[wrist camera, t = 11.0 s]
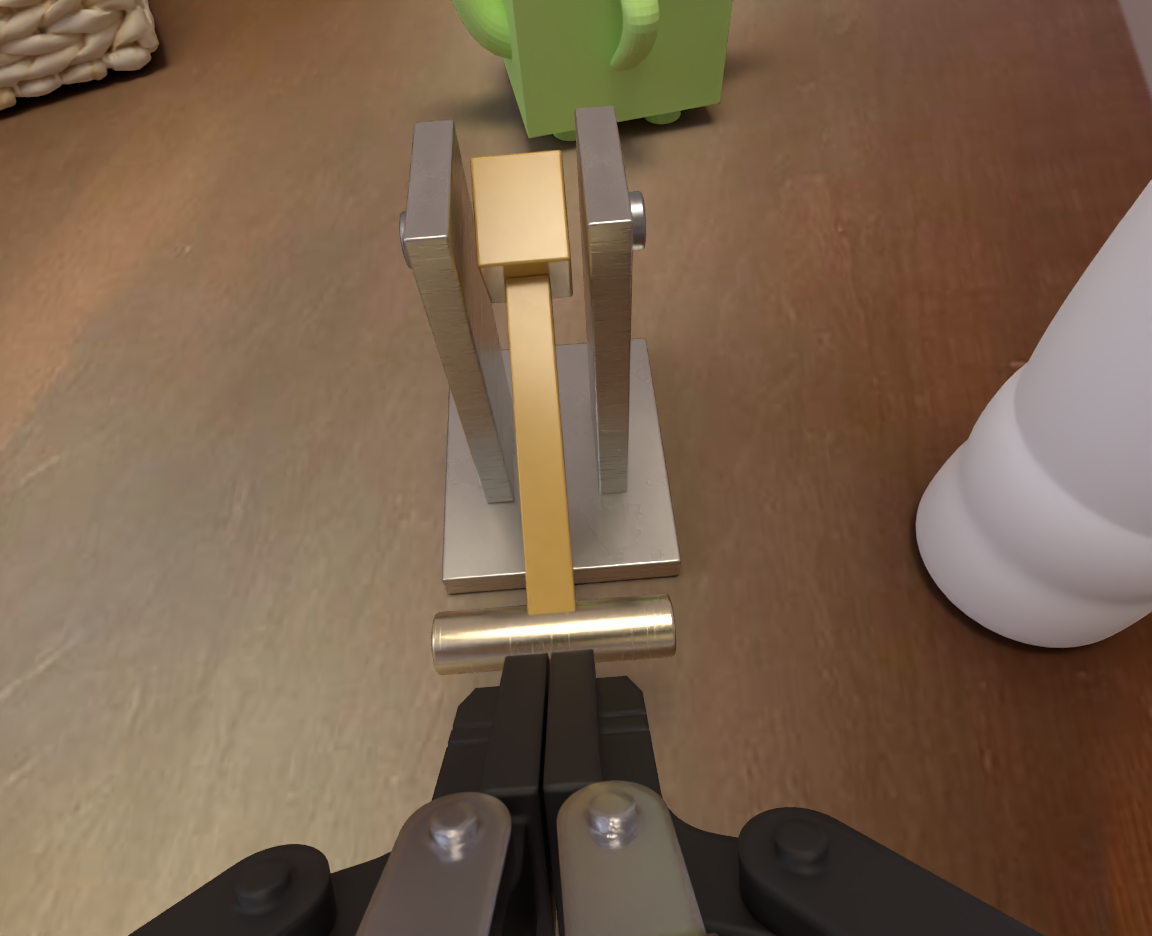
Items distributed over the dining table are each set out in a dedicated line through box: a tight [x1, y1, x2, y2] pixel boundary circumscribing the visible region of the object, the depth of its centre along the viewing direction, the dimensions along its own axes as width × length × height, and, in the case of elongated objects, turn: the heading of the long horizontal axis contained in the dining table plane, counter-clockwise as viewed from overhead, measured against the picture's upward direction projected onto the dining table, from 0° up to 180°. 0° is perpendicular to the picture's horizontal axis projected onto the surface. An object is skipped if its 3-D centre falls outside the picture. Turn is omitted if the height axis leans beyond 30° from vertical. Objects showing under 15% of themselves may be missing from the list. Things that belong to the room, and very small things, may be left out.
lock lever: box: [431, 150, 676, 675], centre depth 17 cm, size 12×6×2 cm, turn 3°
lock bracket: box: [399, 106, 681, 594], centre depth 22 cm, size 10×8×13 cm
